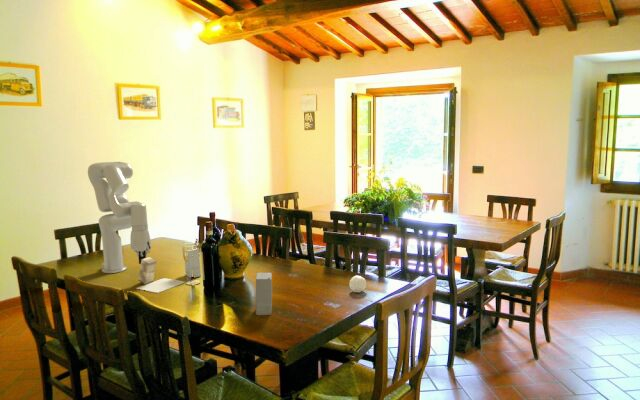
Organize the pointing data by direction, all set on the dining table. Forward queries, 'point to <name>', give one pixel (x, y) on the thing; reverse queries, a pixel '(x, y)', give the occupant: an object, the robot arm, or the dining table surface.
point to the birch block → (147, 270)
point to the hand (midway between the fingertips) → (142, 263)
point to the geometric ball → (357, 284)
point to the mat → (160, 285)
